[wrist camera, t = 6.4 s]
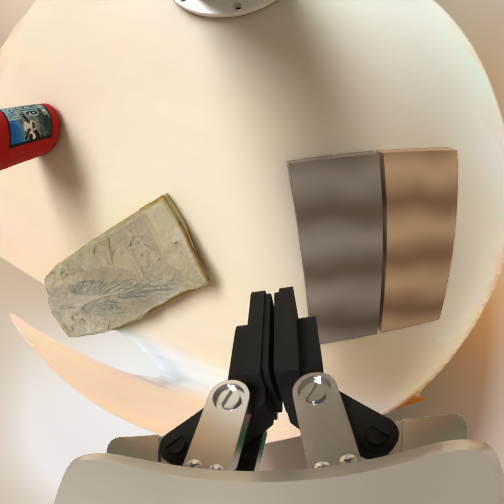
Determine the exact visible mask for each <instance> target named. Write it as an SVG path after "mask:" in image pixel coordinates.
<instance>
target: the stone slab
mask: <svg viewBox="0 0 504 504" xmlns="http://www.w3.org/2000/svg"><path fill="white" fill-rule="evenodd" d="M208 280H209V277H208V274H207V272H206V270H205V269H204V267H203V265H202V263H201V261H200V260H199V257H198V255H197V252H196V250H195V247H194V244H193V242H192V240H191V238H190V235H189V232H188V230H187V227H186V223H185V220H184V218H183V217H182V215H181V213H180V212H179V210H178V209H177V207H176V206H175V204H174V203H173V201H172V200H171V199H170V196H169V195H168V193H166V194H164V195H162V196H161V197H159V198H158V199H156V200H154V201H152V202H151V203H149V204H147V205H145V206H144V207H142V208H140V209H139V210H138V211H137V212H136V213H134V214H133V215H131V216H129V217H128V218H126V219H124V220H123V221H122V222H120V223H118V224H117V225H115V226H113V227H112V228H110V229H109V230H108V231H106V232H105V233H103V234H102V235H100V236H99V237H97V238H95V239H93V240H92V241H91V242H90V243H88V244H87V245H85V246H83V247H82V248H80V249H79V250H77V251H76V252H75V253H73V254H72V255H71V256H69V257H68V258H66V259H65V260H64V261H62V262H60V263H59V264H57V265H56V266H55V268H54V269H53V270H52V271H51V272H50V273H49V274H48V275H47V276H46V277H45V285H46V290H47V292H48V294H49V299H48V303H49V306H50V309H51V312H52V314H53V316H54V317H55V318H56V320H57V321H58V322H59V323H60V325H61V327H62V329H63V330H64V331H65V333H66V334H67V335H68V336H69V337H80V336H85V335H93V334H98V333H103V332H106V331H108V330H116V329H119V328H121V327H124V326H125V325H127V324H130V323H132V322H135V321H138V320H140V319H142V318H144V317H145V316H147V315H148V314H149V313H150V312H151V311H153V310H154V309H156V308H159V307H161V306H164V305H165V304H167V303H168V302H169V301H171V300H173V299H174V298H176V297H178V296H180V295H182V294H184V293H186V292H189V291H193V290H195V289H198V288H200V287H201V286H202V285H203V286H206V285H207V284H208Z"/></svg>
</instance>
